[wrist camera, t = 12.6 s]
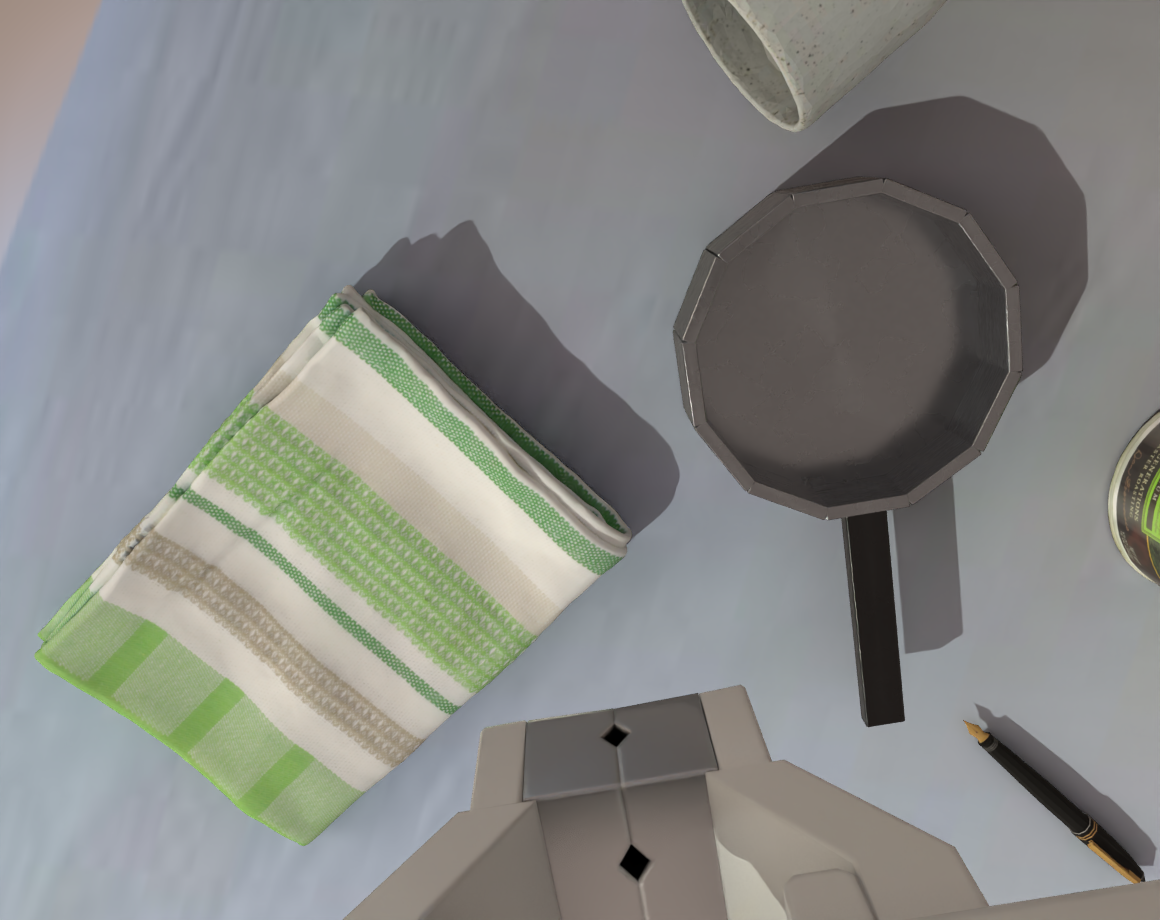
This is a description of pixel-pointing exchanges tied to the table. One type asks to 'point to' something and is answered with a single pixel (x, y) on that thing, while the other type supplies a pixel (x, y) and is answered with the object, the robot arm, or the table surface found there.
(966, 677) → the table surface
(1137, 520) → the coffee can
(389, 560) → the dish towel
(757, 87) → the ceramic mug
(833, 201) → the steel pan
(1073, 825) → the fountain pen
